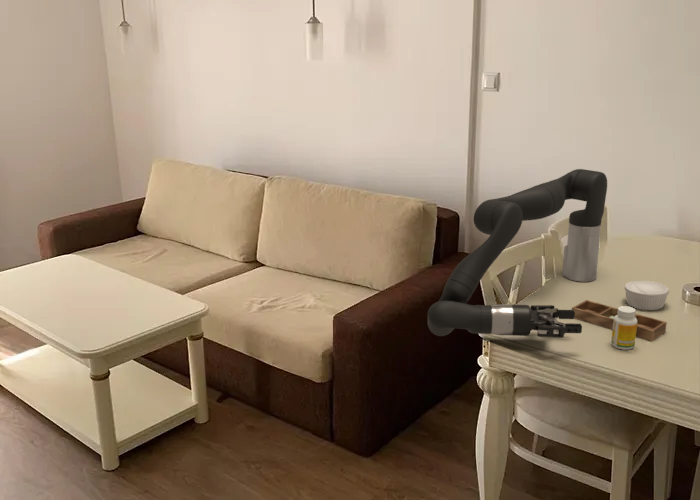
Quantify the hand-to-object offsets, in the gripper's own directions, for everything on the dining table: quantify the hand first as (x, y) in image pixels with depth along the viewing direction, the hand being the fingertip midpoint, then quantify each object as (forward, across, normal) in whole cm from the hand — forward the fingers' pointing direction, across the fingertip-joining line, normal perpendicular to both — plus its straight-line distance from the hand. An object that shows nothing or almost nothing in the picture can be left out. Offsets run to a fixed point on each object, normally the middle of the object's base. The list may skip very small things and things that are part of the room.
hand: (577, 321), depth 173 cm
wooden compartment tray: (+13, +13, +6) cm, 19 cm away
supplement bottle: (+11, 0, +6) cm, 13 cm away
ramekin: (+24, +27, +6) cm, 37 cm away
